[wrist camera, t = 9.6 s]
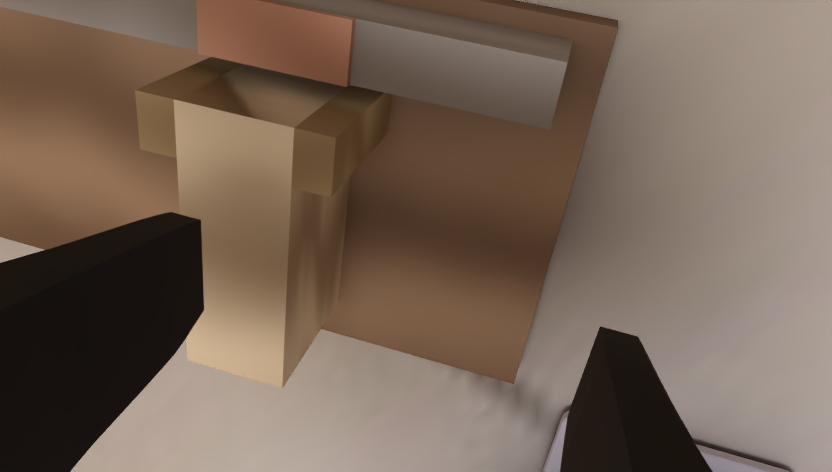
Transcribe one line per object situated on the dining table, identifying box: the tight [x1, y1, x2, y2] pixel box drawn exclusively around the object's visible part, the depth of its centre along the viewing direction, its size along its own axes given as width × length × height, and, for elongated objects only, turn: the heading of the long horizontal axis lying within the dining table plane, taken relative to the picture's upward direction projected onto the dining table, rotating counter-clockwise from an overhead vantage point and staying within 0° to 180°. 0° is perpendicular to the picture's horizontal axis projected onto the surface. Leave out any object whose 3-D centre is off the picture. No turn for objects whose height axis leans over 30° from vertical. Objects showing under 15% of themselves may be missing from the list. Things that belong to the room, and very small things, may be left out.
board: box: [0, 0, 618, 384], centre depth 20 cm, size 12×28×4 cm, turn 82°
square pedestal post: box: [135, 57, 392, 388], centre depth 19 cm, size 8×5×4 cm, turn 172°
